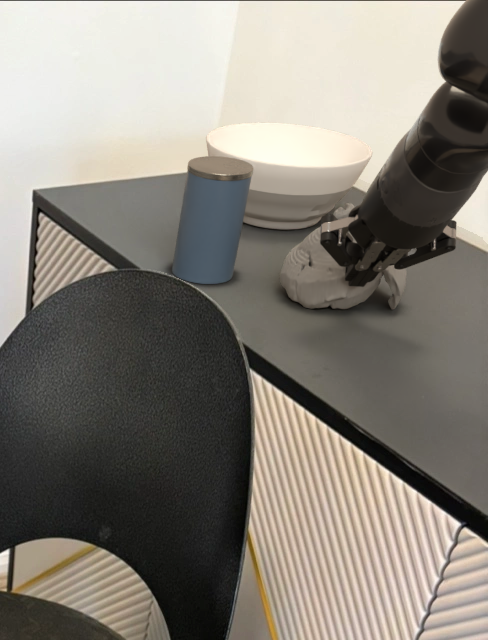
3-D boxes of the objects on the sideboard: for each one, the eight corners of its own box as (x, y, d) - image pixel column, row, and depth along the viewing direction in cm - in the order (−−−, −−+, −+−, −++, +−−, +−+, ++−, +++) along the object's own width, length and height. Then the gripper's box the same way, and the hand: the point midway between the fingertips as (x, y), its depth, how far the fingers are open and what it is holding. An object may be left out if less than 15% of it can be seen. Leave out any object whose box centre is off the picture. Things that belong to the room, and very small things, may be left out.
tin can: (209, 259, 125) (227, 153, 118) (245, 279, 121) (267, 170, 114) (159, 267, 123) (175, 159, 116) (194, 287, 119) (213, 177, 111)
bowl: (337, 253, 128) (356, 176, 122) (174, 225, 134) (186, 151, 128) (366, 207, 141) (385, 136, 135) (217, 183, 147) (229, 114, 142)
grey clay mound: (323, 348, 114) (323, 248, 106) (261, 305, 122) (257, 210, 114) (426, 302, 115) (433, 200, 107) (357, 263, 123) (359, 166, 115)
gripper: (506, 143, 94) (423, 244, 111) (348, 135, 94) (290, 238, 112) (503, 228, 93) (420, 317, 111) (345, 220, 94) (287, 310, 111)
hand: (355, 277), depth 111 cm, fingers closed
